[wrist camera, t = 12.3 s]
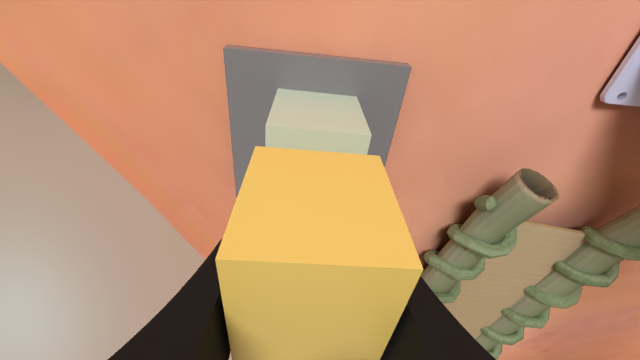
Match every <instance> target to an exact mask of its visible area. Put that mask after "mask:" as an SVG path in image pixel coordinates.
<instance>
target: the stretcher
mask: <svg viewBox="0 0 640 360" xmlns="http://www.w3.org/2000/svg"><path fill="white" fill-rule="evenodd" d="M558 198H559V193H558V191H557V189H556V188H555V186H554V185H553V184H552V183H551V182H550V181H549V180H548V179H547V178H545V177H544V176H543V175H541V174H539V173H538V172H536V171H533V170H531V169H524V168H523V169H521V170H519V171H518V172H517V173H516V174H515V175H513V176H512V177H511V178H510V179H509V180H508V181H507V182H506V183H505V184H503V185H502V186H501V187H500V188H499V189H498V190H497V191H496V192H495V193H493V194H492V195H491V196H490V195H483V196H479V197H477V198H476V199H475V201H474V206H475V207H476V208H477V209H476V210H475V211H474V212H473V213H472V214H471V215H470V217H469V218H468V219H467V220H466V221H465V222H464V224H463V225H461V224H453V225H451V226H450V227H449V228H448V231H447V234H448V237H449V238H450V240H449V241H448V243H447V244H446V245H445V246H444V247H443V248H442V250H441V251H440V252H439V251H437V250H429V251H427V252H426V253H425V254H424V261H425V262H426V263H427V264H429V265H428V266H427V267H426V269H425V270H424V271H423V272H422V274H421V277H422V278H423V279H424V281H425V282H426V283H427V285H428V286H429V287H430V288H431V290H432V291H433V292H434V293H435V295H436V296H437V297H438V298H439V300H440V301H441V302H442V303H443V304H444V306H445V307H446V308H447V309H448V310H449V311H450V313H451V314H452V315H453V316H454V317H455V318H456V319H457V320H458V322H459V323H460V324H461V325H462V326H463V327H464V328H465V329H466V330H467V331H468V332H469V333H470V334H471V335H472V337H473V338H474V339H475V340H476V341H477V342H478V343H479V344H480V345H481V346H482V347H483V348H484V349H485V350H486V351H487V352H489V353H490V354H491V355H492V356H493V357H494V358H495V359H496V360H497V359H498V357H499V356H500V354H501V352H502V344H506V345H513V344H515V343H517V342H519V341H521V340H522V339H523V336H524V327H530V328H540V329H541V328H543V327H544V326H545V324H546V323H547V321H548V320H549V314H550V307H557V308H567V307H570V306H572V305H574V304H577V303H578V300H579V297H580V294H581V291H582V286H584V285H586V286H597V287H609V286H610V285H611V284H612V283H613V281H614V280H615V279H616V278H617V276H618V272H619V262H620V261H622V260H624V259H627V260H636V261H640V205H639V206H638V207H636V208H634V209H632V210H630V211H629V212H627V213H625V214H623V215H621V216H620V217H618V218H616V219H614V220H612V221H611V222H609V223H607V224H605V225H603V226H601V227H600V228H598V229H594V228H591V227H589V226H583V227H582V228H581V229H580V231H579V230H574V229H568V228H563V227H558V226H553V225H548V224H542V223H537V222H532V221H527V220H528V219H529V218H531V217H532V216H534V215H535V214H537V213H538V212H540V211H541V210H543V209H544V208H546V207H547V206H548V205H550V204H551V203H553V202H554V201H556V200H557V199H558Z"/></svg>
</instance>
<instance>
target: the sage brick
mask: <svg viewBox="0 0 640 360" xmlns="http://www.w3.org/2000/svg"><path fill="white" fill-rule="evenodd" d="M371 136H372V135H371V132H370V129H369V127H368V124H367V122H366V119H365V116H364V114H363V111H362V109H361V106H360V103H359V101H358V98H357V97H356V96H347V95H337V94H328V93H318V92H309V91H299V90H289V89H280V88H278V89H277V92H276V95H275V98H274V101H273V104H272V107H271V110H270V113H269V116H268V119H267V122H266V125H265V147H274V148H287V149H299V150H312V151H325V152H338V153H351V154H363V155H367V153H368V149H369V145H370V140H371Z"/></svg>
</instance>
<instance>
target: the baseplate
mask: <svg viewBox="0 0 640 360" xmlns="http://www.w3.org/2000/svg"><path fill="white" fill-rule="evenodd" d="M223 50H224V62H225V73H226V84H227V95H228V107H229V118H230V129H231V140H232V152H233V163H234V174H235V185H236V197H237V196H238V193H239V191H240V188H241V185H242V182H243V179H244V177H245V174H246V171H247V168H248V165H249V163H250V160H251V157H252V154H253V151H254V148H255V146H261V147H265V125H266V122H267V119H268V116H269V113H270V110H271V107H272V104H273V101H274V98H275V95H276V92H277V89H278V88H280V89H289V90H299V91H309V92H318V93H328V94H337V95H347V96H356V97H357V98H358V101H359V103H360V106H361V109H362V111H363V114H364V116H365V119H366V122H367V124H368V127H369V129H370V132H371V135H372V136H371V140H370V145H369V149H368V153H367V155H376V156H380V158H381V161H382V163H383V166H384V167H385V163H386V159H387V156H388V152H389V148H390V144H391V141H392V137H393V133H394V130H395V126H396V122H397V119H398V115H399V111H400V108H401V104H402V100H403V97H404V93H405V89H406V86H407V82H408V78H409V74H410V71H411V66H410V65H409V64H408V63H398V62H389V61H379V60H369V59H359V58H350V57H340V56H330V55H320V54H311V53H301V52H291V51H281V50H272V49H262V48H252V47H242V46H233V45H226V46H225V47H224V48H223Z"/></svg>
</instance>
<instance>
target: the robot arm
mask: <svg viewBox="0 0 640 360" xmlns="http://www.w3.org/2000/svg"><path fill="white" fill-rule="evenodd" d="M619 94H620V95H619ZM618 95H619V96H618ZM617 96H618V97H617ZM600 101H602V102H604V103H607V104H615V105H625V106H635V107H640V36H639V38H638V39H637V41H636V42H635V44H634V45H633V47H632V48H631V49H630V51H629V52H628V54H627V55H626V57H625V58H624V60H623V61H622V63H621V64H620V66H619V67H618V69H617V70H616V72H615V73H614V75H613V76H612V78H611V79H610V81H609V82H608V84H607V85H606V87H605V88H604V90H603V91H602V93H601V95H600ZM222 238H223V237H222ZM221 241H222V239H221V240H220V242H219V243H218V244H217V246H216V247H215V248H214V250H213V251H212V252H211V254H210V255H209V256H208V257H207V259H206V260H205V261H204V263H203V264H202V265H201V266H200V267H199V269H198V270H197V271H196V272H195V274H194V275H193V276H192V277H191V278H190V279H189V280H188V282H187V283H186V284H185V285H184V286H183V287H182V288H181V290H180V291H179V292H178V293H177V294H176V295H175V296H174V297H173V298H172V299H171V300H170V302H169V303H168V304H167V305H166V306H165V307H164V308H163V309H162V310H161V311H160V312H159V313H158V314H157V315H156V316H155V317H154V318H153V319H152V320H151V321H150V322H149V323H148V324H147V325H146V326H145V327H143V328H142V329H141V330H140V331H139V332H138V333H137V334H136V335H135V336H134V337H133V338H132V339H130V340H129V341H128V342H127V343H126V344H125V345H124V346H123V347H122V348H121V349H119V350H118V351H117V352H116V353H115V354H114V355H113V356H111V357H110V358H109V359H108V360H228V359H229V355H230V351H231V350H230V344H229V338H228V332H227V326H226V320H225V314H224V308H223V303H222V297H221V291H220V285H219V279H218V273H217V267H216V261H215V258H216V255H217V253H218V250H219V247H220V244H221ZM380 360H496V359H495V358H494V357H493V356H492V355H491V354H490V353H489V352H487V351H486V350H485V349H484V348H483V347H482V346H481V345H480V344H479V343H478V342H477V341H476V340H475V339H474V338H473V337H472V335H471V334H470V333H469V332H468V331H467V330H466V329H465V328H464V327H463V326H462V325H461V324H460V323H459V322H458V320H457V319H456V318H455V317H454V316H453V315H452V314H451V313H450V311H449V310H448V309H447V308H446V307H445V306H444V304H443V303H442V302H441V301H440V300H439V298H438V297H437V296H436V295H435V293H434V292H433V291H432V290H431V288H430V287H429V286H428V285H427V283H426V282H425V281H424V279H423V278H422V277H421V276H420V278H419V280H418V282H417V284H416V286H415V288H414V290H413V292H412V294H411V296H410V298H409V300H408V303H407V305H406V307H405V309H404V311H403V313H402V315H401V317H400V319H399V321H398V323H397V325H396V327H395V329H394V331H393V334H392V336H391V338H390V340H389V342H388V344H387V346H386V348H385V350H384V352H383V354H382V356H381V358H380Z"/></svg>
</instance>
